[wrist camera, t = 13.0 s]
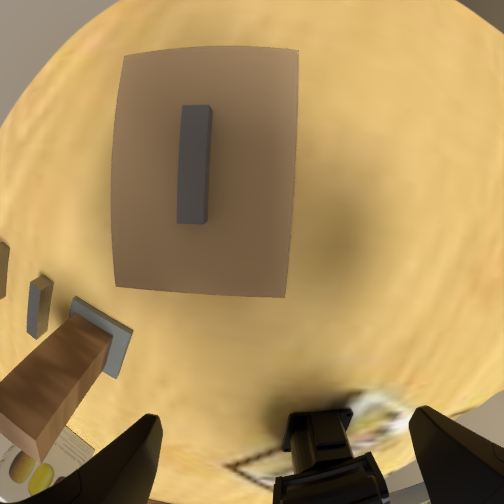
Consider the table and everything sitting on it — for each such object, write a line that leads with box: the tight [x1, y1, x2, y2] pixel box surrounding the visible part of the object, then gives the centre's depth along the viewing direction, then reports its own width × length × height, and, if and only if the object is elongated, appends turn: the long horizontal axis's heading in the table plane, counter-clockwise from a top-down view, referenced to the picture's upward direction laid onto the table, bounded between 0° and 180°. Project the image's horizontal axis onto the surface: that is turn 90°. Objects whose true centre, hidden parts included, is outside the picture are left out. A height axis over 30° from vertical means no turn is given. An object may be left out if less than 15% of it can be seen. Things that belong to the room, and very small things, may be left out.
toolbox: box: [111, 46, 299, 298], centre depth 14 cm, size 11×8×9 cm
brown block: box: [0, 313, 113, 464], centre depth 15 cm, size 4×4×12 cm
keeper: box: [0, 242, 54, 340], centre depth 19 cm, size 8×6×2 cm
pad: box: [69, 296, 133, 379], centre depth 21 cm, size 6×6×1 cm
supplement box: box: [0, 426, 95, 503], centre depth 18 cm, size 10×9×17 cm
